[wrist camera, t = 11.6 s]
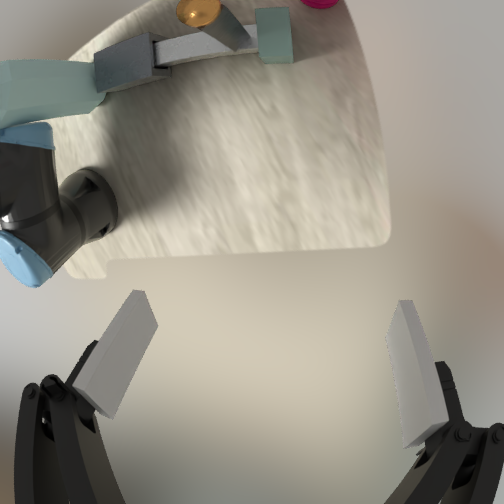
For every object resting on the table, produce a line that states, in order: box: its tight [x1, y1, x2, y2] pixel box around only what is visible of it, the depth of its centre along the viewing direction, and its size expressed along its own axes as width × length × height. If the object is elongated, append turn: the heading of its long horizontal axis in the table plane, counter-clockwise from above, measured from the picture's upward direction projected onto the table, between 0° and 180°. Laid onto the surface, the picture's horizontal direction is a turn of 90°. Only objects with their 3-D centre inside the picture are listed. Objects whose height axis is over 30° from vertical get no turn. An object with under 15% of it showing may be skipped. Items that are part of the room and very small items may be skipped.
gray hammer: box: [152, 0, 259, 68], centre depth 23 cm, size 18×4×18 cm, turn 94°
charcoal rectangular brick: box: [94, 32, 172, 93], centre depth 31 cm, size 10×7×6 cm
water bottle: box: [0, 59, 106, 129], centre depth 24 cm, size 10×10×25 cm
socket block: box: [255, 7, 294, 64], centre depth 27 cm, size 4×7×7 cm, turn 4°
